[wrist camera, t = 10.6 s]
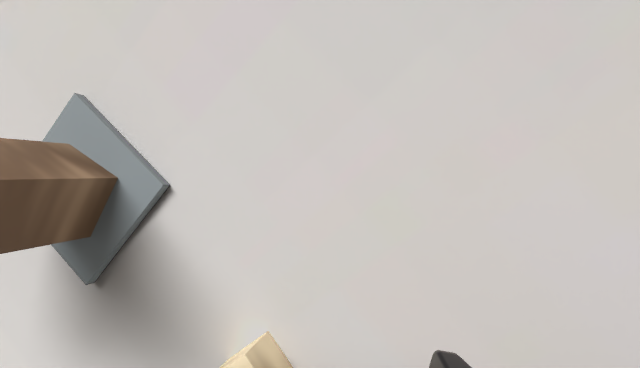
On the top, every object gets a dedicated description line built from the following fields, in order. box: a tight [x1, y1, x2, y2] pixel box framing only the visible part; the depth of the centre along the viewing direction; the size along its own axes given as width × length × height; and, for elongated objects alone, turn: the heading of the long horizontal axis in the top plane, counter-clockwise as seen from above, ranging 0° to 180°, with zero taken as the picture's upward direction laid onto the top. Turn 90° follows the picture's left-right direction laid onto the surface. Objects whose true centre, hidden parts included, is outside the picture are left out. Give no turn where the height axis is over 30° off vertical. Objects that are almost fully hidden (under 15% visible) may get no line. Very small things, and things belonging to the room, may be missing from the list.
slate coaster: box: [42, 93, 170, 285], centre depth 23 cm, size 8×8×1 cm
